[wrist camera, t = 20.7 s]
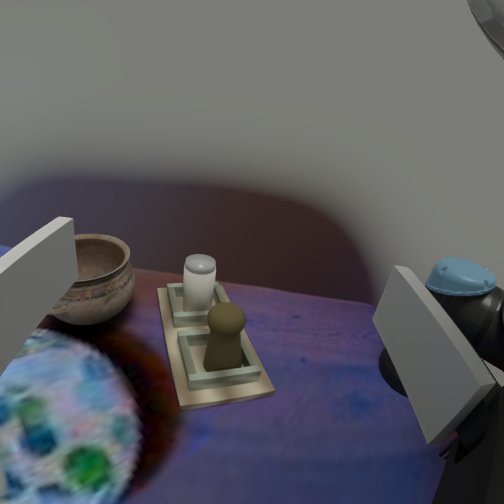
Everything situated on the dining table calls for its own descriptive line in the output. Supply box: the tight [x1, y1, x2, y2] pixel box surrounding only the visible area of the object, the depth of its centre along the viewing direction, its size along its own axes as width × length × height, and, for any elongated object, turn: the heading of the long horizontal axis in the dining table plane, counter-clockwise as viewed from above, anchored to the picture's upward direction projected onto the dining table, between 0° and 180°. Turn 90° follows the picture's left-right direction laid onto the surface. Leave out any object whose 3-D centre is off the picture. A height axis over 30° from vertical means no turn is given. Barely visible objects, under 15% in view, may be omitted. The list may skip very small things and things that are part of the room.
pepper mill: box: [203, 302, 246, 372], centre depth 41 cm, size 6×6×11 cm
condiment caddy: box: [157, 282, 275, 410], centre depth 49 cm, size 14×29×4 cm, turn 20°
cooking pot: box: [47, 234, 135, 325], centre depth 47 cm, size 25×19×12 cm
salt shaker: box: [183, 254, 216, 312], centre depth 53 cm, size 6×6×10 cm
